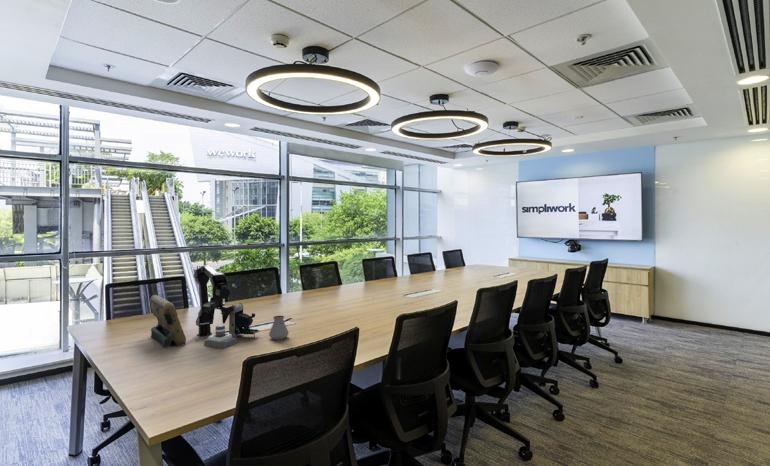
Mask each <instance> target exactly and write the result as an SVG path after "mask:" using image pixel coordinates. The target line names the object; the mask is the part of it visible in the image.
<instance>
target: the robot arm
mask: <svg viewBox="0 0 770 466" xmlns="http://www.w3.org/2000/svg"><path fill="white" fill-rule="evenodd" d="M193 278H194V281H195V283H196V284H197V285H198V295H199V304H200V306H199V308H200V309H199V311H198V313H197V318H196V320H195V326H197V327H198V333H196V336H200V337H206V336H209V335H210V336H211V335H213V332H211V329H212V327H211V325H213V324H214V319H215V310H219V311H220V315H221V316H222V324H223V325H224V324H225V323H226V322H227V319H228V318H229V314H230V312H232V311H234V307H233V306H232V305H225V303H224V299H227V298H229V297H230V295H231V292H230V290H229V289H228V287H227V286H228V283H229V282H228V280H227V277H226V275H225V274H224V273H223V272H219V271H218V272H217V270H215V269H214V268H213V267H212V266H211V265H210V264H209V265H208V264H207V265H204V264H203V265H201V266H200V267H199V268H197V269H196V270H194V273H193ZM209 282H210V284H211V287H212V288H211V289H212V290H211V292H212V293H211V294H212V295H211V296H212V297H210V300H209V294H208V293H209V292H208V284H209Z"/></svg>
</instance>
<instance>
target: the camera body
mask: <svg viewBox="0 0 770 466" xmlns="http://www.w3.org/2000/svg"><path fill="white" fill-rule="evenodd" d="M237 339H238V338H237V337H235V338H233V337H232V334H229V333H226V332H225V336H224V337H221V338H220V337H216V333H215V334H211V335H210V336H209V335H208V338H205V339H203V345H204V346H207V347H208V346H209V347H214V348H218V349H224V348H228V347H231V346H233V345H235V344H237V343H238V342H237Z"/></svg>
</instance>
